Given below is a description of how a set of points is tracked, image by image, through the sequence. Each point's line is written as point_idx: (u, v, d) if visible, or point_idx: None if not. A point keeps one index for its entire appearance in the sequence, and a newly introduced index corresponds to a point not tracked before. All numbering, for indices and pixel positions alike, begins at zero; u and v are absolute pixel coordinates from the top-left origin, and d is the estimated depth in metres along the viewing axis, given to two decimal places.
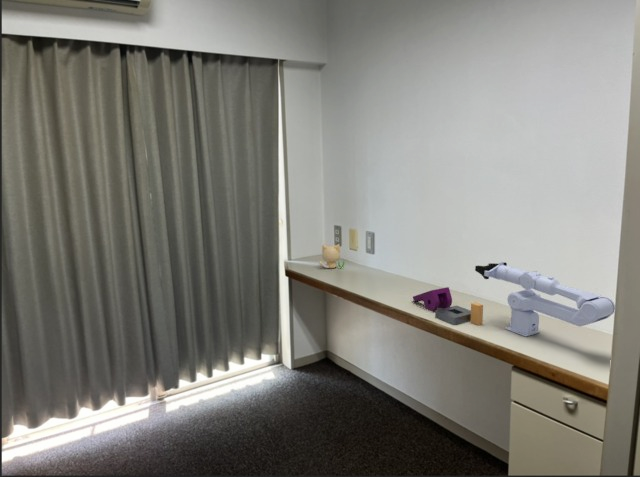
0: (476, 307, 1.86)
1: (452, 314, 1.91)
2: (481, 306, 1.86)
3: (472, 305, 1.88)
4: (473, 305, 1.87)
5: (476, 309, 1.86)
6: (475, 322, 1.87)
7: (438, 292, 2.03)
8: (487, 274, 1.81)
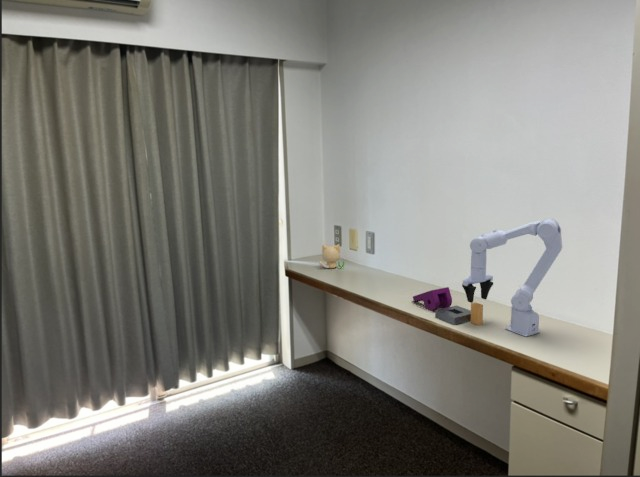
0: (475, 307, 1.86)
1: (452, 314, 1.91)
2: (481, 306, 1.85)
3: (472, 305, 1.88)
4: (473, 305, 1.87)
5: (476, 309, 1.86)
6: (475, 322, 1.87)
7: (438, 292, 2.03)
8: (464, 281, 1.82)
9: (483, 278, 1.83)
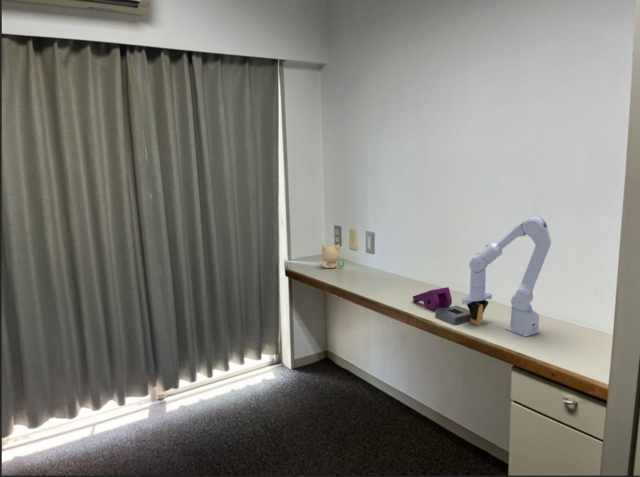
0: None
1: (452, 314, 1.91)
2: (481, 306, 1.86)
3: None
4: None
5: None
6: (475, 322, 1.87)
7: (437, 292, 2.03)
8: (464, 300, 1.83)
9: (482, 297, 1.84)
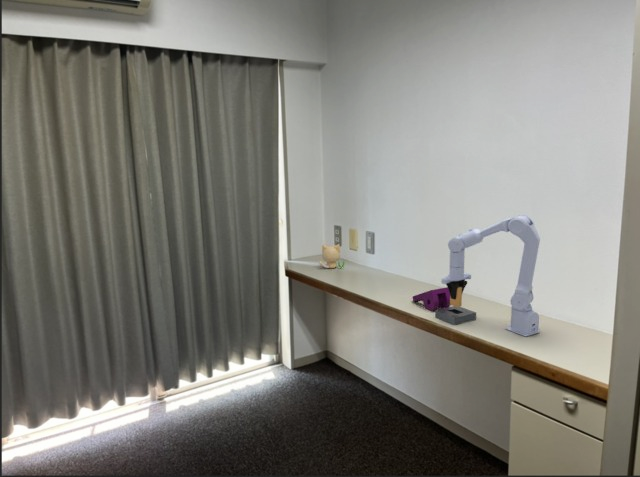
0: None
1: (452, 314, 1.91)
2: (460, 288, 1.91)
3: None
4: None
5: None
6: (454, 304, 1.92)
7: (437, 292, 2.03)
8: (443, 280, 1.88)
9: (461, 276, 1.89)
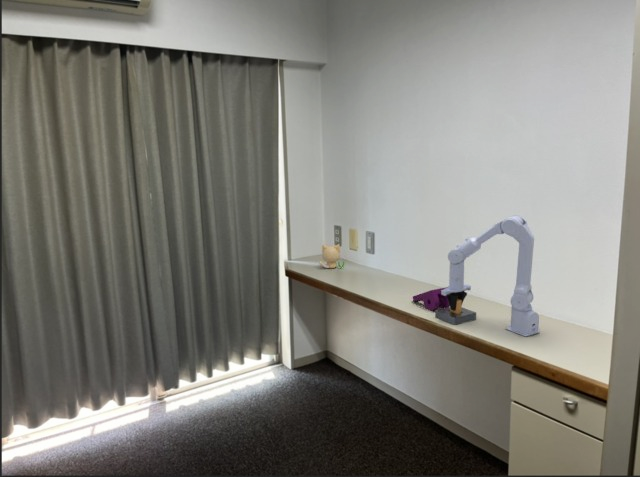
0: None
1: (452, 314, 1.91)
2: (459, 301, 1.91)
3: None
4: None
5: None
6: None
7: (437, 292, 2.04)
8: (443, 291, 1.89)
9: (461, 288, 1.90)
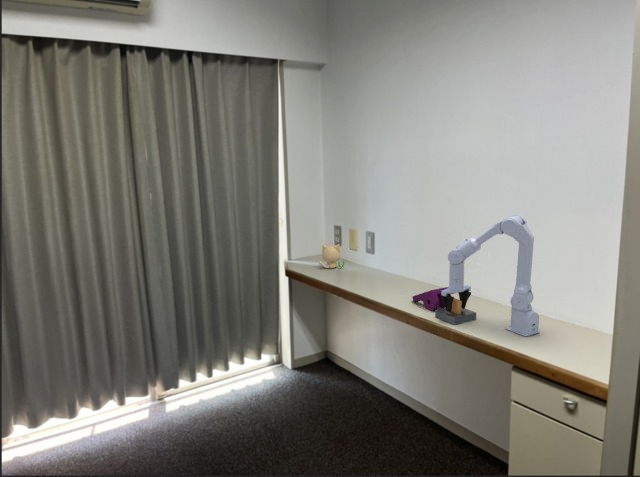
0: (454, 303, 1.92)
1: (452, 314, 1.91)
2: (459, 302, 1.91)
3: None
4: None
5: (454, 305, 1.92)
6: None
7: (437, 292, 2.04)
8: (443, 292, 1.89)
9: (461, 288, 1.90)
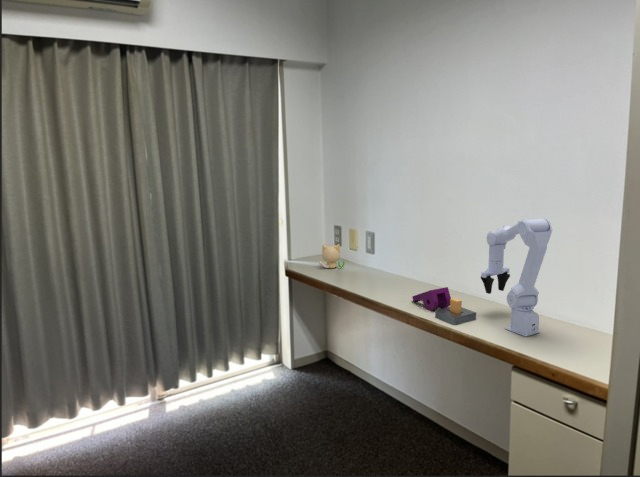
0: (454, 303, 1.92)
1: (452, 314, 1.91)
2: (459, 302, 1.91)
3: (451, 301, 1.94)
4: (452, 301, 1.93)
5: (454, 305, 1.92)
6: None
7: (437, 292, 2.04)
8: (483, 273, 1.91)
9: (501, 270, 1.92)
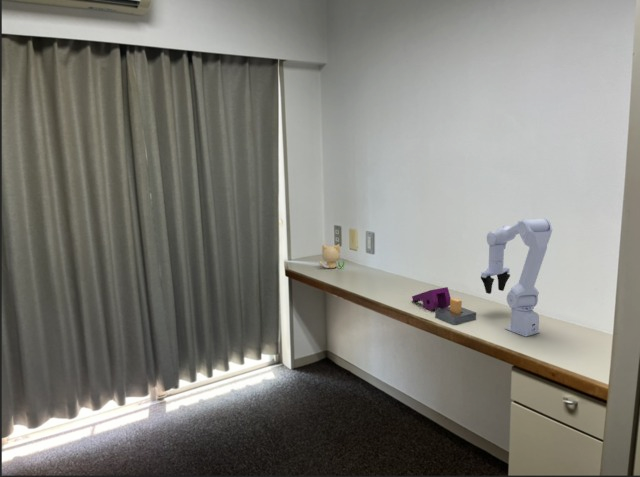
0: (454, 303, 1.92)
1: (452, 314, 1.91)
2: (459, 302, 1.91)
3: (451, 301, 1.94)
4: (452, 301, 1.93)
5: (454, 305, 1.92)
6: None
7: (436, 292, 2.03)
8: (483, 273, 1.91)
9: (501, 270, 1.92)
